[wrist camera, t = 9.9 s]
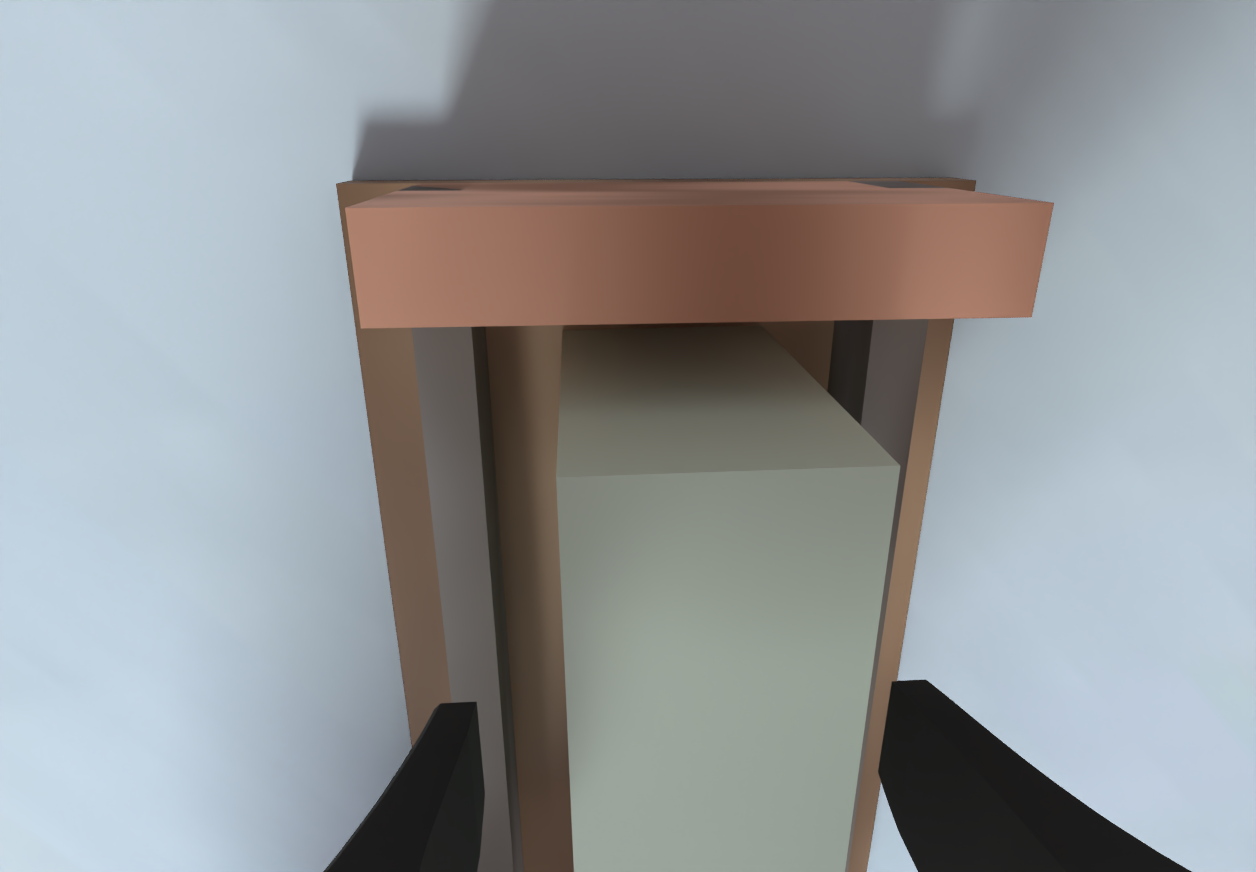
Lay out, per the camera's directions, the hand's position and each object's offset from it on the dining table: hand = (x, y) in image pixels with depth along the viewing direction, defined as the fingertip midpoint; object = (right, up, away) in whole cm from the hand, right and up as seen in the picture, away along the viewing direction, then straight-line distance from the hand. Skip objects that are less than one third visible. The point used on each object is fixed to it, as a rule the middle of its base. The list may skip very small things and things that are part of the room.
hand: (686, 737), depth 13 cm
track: (0, +1, +6) cm, 6 cm away
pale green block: (0, +2, +4) cm, 5 cm away
